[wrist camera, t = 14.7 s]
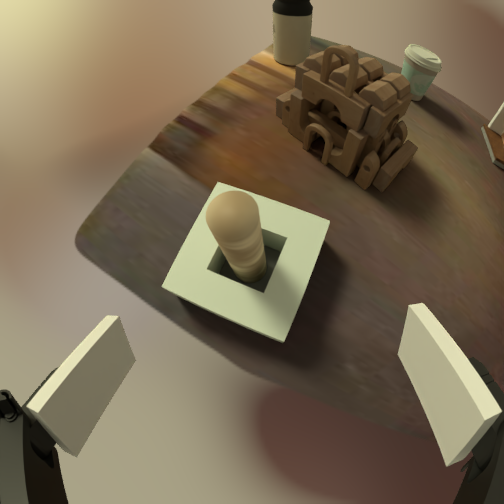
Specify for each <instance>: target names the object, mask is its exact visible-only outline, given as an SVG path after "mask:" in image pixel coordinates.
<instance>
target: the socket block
mask: <svg viewBox="0 0 504 504" xmlns="http://www.w3.org/2000/svg"><path fill="white" fill-rule="evenodd" d="M227 191H242V192H245V193H247V194H249V195H250V196H251V197H253V198H254V200H255V201H256V203H257V205H258V208H259V215H260V222H261V229H262V236H263V243H264V251H265V258H266V265H267V269H266V273H265V275H264V276H263V277H262V278H261V279H260V280H259V281H257V282H254V283H245V282H243V281H241V280H239V279H238V278H237V276H236V275H235V273H234V271H233V270H232V268H231V266H230V264H229V263H228V261H227V259H226V257H225V255H224V254H223V252H222V250H221V248H220V247H219V245H218V243H217V241H216V240H215V238H214V236H213V234H212V232H211V231H210V229H209V227H208V225H207V222H206V210H207V208H208V205H209V204H210V202H211V201H212V200H213V199H214V198H215V197H216V196H218V195H219V194H221V193H224V192H227ZM329 223H330V221H329V220H326V219H323V218H321V217H318V216H315V215H313V214H310V213H307V212H305V211H302V210H299V209H297V208H294V207H291V206H288V205H285V204H283V203H280V202H277V201H274V200H271V199H268V198H265V197H262V196H260V195H257V194H254V193H251V192H248V191H245V190H242V189H238V188H235V187H232V186H229V185H226V184H223V183H220V182H218V183H217V185H216V186H215V188H214V190H213V191H212V193H211V195H210V197H209V198H208V200H207V202H206V204H205V205H204V207H203V209H202V211H201V213H200V214H199V216H198V218H197V220H196V222H195V223H194V225H193V227H192V229H191V231H190V233H189V235H188V236H187V238H186V240H185V242H184V244H183V246H182V248H181V250H180V251H179V253H178V255H177V257H176V259H175V261H174V263H173V265H172V267H171V269H170V271H169V273H168V275H167V277H166V279H165V281H164V283H163V285H162V287H163V288H165V289H166V290H168V291H169V292H171V293H173V294H174V295H176V296H178V297H180V298H182V299H184V300H186V301H188V302H190V303H192V304H194V305H196V306H199V307H201V308H203V309H205V310H207V311H209V312H211V313H214V314H216V315H218V316H220V317H222V318H225V319H227V320H229V321H231V322H234V323H236V324H238V325H240V326H243V327H245V328H247V329H250V330H252V331H254V332H257V333H259V334H262V335H264V336H266V337H269V338H271V339H274V340H276V341H279V342H281V343H282V342H284V341H285V339H286V336H287V334H288V332H289V329H290V327H291V324H292V322H293V319H294V317H295V315H296V312H297V310H298V307H299V305H300V302H301V300H302V297H303V295H304V292H305V289H306V287H307V284H308V282H309V279H310V276H311V274H312V271H313V268H314V266H315V263H316V260H317V257H318V255H319V252H320V249H321V246H322V243H323V240H324V238H325V235H326V232H327V229H328V226H329Z"/></svg>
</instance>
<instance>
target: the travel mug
mask: <svg viewBox="0 0 504 504" xmlns="http://www.w3.org/2000/svg"><path fill="white" fill-rule="evenodd" d="M312 10H313V7H312V5H311V3H310V0H275V1H274V3H273V36H274V38H273V40H274V59H275V60H276V61H277V62H279V63H282V64H285V65H293V66H294V65H298V64H300V63H303V62H304V61H305V59H306V58H307V57H309V51H310V39H311V25H312Z"/></svg>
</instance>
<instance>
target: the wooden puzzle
mask: <svg viewBox="0 0 504 504" xmlns="http://www.w3.org/2000/svg"><path fill="white" fill-rule="evenodd" d="M354 91H355V92H356V93H355V92H354ZM410 92H411V88H410V82H409V81H408V80H407V79H406V78H405V76H404V75H402V74H398V73H393V72H392V73H390V74H387V73H385V72H384V71H383V66H382V65H381V64H380V63H379V62H378V61H377V60H376V59H375V58H369V57H364V58H362V59H360V58H358V53H357V52H356V51H355V50H354V49H353V48H352V47H351V46H347V45H339V46H338V45H334V46H331V47H328V48H327V49H326V50H325V51H322V52H319V53H317V54H314V55H311V56H309V57H307V58H306V59H305V61H304V62H303V63H300V64H298V65H296V76H295V88H294V89H292V90H290V91H288V92H286V93H284V94H282V95H281V96H279V97H277V98H276V115H277V116H278V117H280V118H281V119H282V124H283V125H285V126H286V127H287V128H289V130H288V132H289V133H290V134H292V135H293V136H294V137H296V138H297V139H299V140H300V141H301V142H303V149H304V150H306V151H308V150H309V149H310V147H311V143H312V142H313V141H315V140H316V139H318V138H319V137H320V136H322V137H323V138H324V140H325V148H324V152H323V156H322V161H321V162H322V163H323V164H324V165H327V164H328V163H330V164H331V165H332V166H334V167H335V168H336V169H338V170H339V171H340V172H341V173H343V174H344V175H345V176H346V177H348V176H349V175H350V174H351V173H352V172H353V171H355V168H356V166H358V167H359V168H360V169H359V171H358V174H357V176H356V178H355V180H354V182H356V183H357V184H358V185H359V186H360V187H361V188H363V189H364V190H366V189H367V188H368V187H369V186H370V185H371V183H372V184H373V185H374V186H375V187H376V188H377V189H379V190H380V191H381V192H383V191H384V190H385V189H386V188H387V187H388V186H389V185H390V184H391V182H392V181H393V179H394V178H395V176H396V175H397V174H398V173H399V171H400V170H401V169H402V170H403V169H404V168H405V167H406V166H407V165H408V163H409V162H410V161H411V159H412V157H413V156H414V154H415V152H416V151H417V149H418V147H417V146H416V145H414V144H413V143H412V142H411V141H409V140H407V141H406V142H405V143H404V141H405V139H406V137H407V127H406V124H405V123H404V122H403V121H400V122H399V123H398V124H397V122H398V120H399V119H400V118H401V117H402V116H403V115H405V113H406V111H407V109H408V106H409V104H410V102H411V100H412V97H413V94H412V93H410ZM343 123H344V124H346V126H347V128H346V129H345V128H344V127H342V124H343ZM403 143H404V144H403ZM333 144H334V145H335V148H334V149H332V148H333ZM376 174H377V175H376ZM375 176H376V177H375ZM374 178H375V179H374ZM373 179H374V181H373ZM372 181H373V182H372Z"/></svg>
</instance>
